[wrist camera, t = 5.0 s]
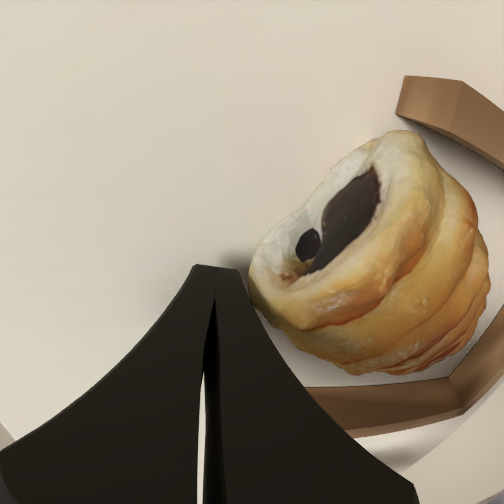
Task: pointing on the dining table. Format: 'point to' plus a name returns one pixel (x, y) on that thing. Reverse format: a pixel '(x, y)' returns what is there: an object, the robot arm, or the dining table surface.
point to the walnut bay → (498, 333)
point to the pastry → (377, 263)
